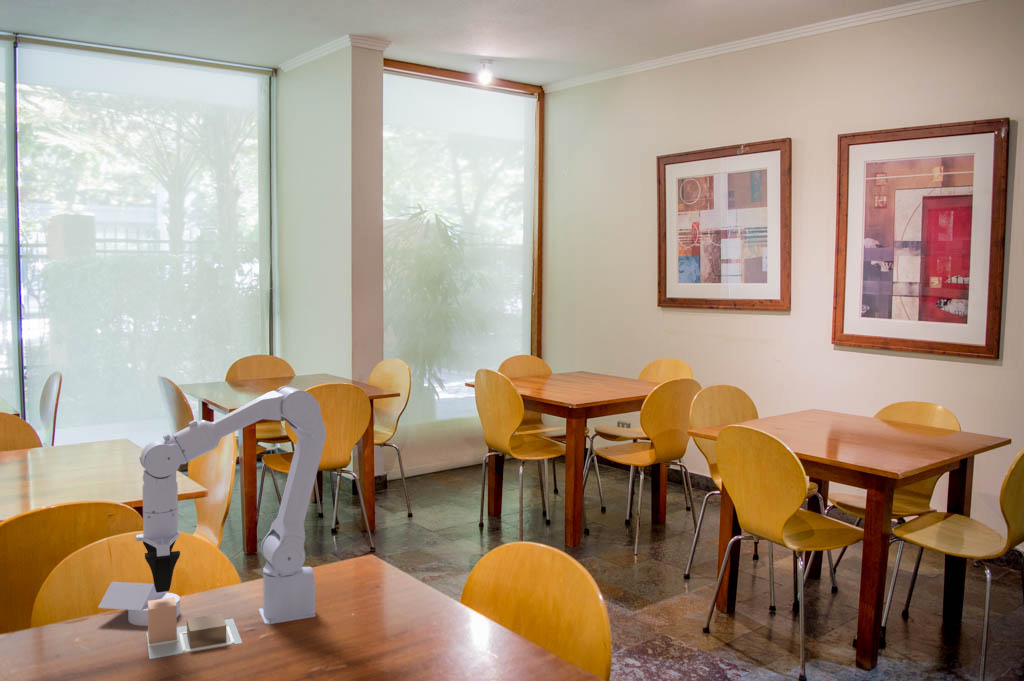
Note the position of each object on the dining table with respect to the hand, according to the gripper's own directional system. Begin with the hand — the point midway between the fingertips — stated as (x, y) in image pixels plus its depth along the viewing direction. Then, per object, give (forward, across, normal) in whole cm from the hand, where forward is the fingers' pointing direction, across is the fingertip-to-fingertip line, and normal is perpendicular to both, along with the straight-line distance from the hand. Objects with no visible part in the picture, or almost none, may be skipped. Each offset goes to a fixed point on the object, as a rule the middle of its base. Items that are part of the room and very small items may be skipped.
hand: (161, 584), depth 145 cm
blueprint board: (+10, +3, +5) cm, 11 cm away
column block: (+9, 0, 0) cm, 9 cm away
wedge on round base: (+10, -11, -2) cm, 15 cm away
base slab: (+10, +4, +7) cm, 13 cm away
